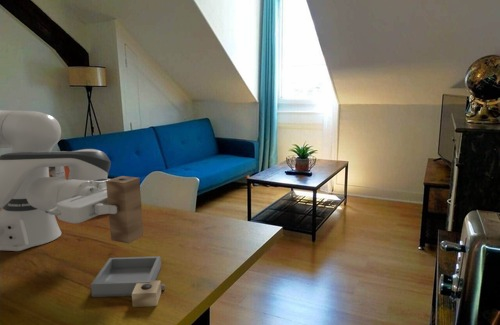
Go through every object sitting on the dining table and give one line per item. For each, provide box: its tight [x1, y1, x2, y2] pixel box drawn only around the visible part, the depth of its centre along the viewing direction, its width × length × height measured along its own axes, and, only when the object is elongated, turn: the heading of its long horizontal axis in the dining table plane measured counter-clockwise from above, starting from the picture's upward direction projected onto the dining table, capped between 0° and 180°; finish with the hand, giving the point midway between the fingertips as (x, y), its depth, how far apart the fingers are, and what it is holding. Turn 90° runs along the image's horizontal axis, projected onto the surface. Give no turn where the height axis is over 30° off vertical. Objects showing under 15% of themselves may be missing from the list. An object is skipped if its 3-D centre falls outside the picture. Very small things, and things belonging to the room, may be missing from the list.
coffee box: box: [49, 166, 66, 179], centre depth 157 cm, size 9×6×16 cm
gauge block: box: [131, 279, 166, 308], centre depth 77 cm, size 6×7×3 cm
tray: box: [90, 255, 162, 298], centre depth 83 cm, size 13×13×3 cm
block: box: [106, 175, 144, 244], centre depth 80 cm, size 5×5×14 cm
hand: (127, 205), depth 80 cm, fingers closed on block, 5 cm apart
